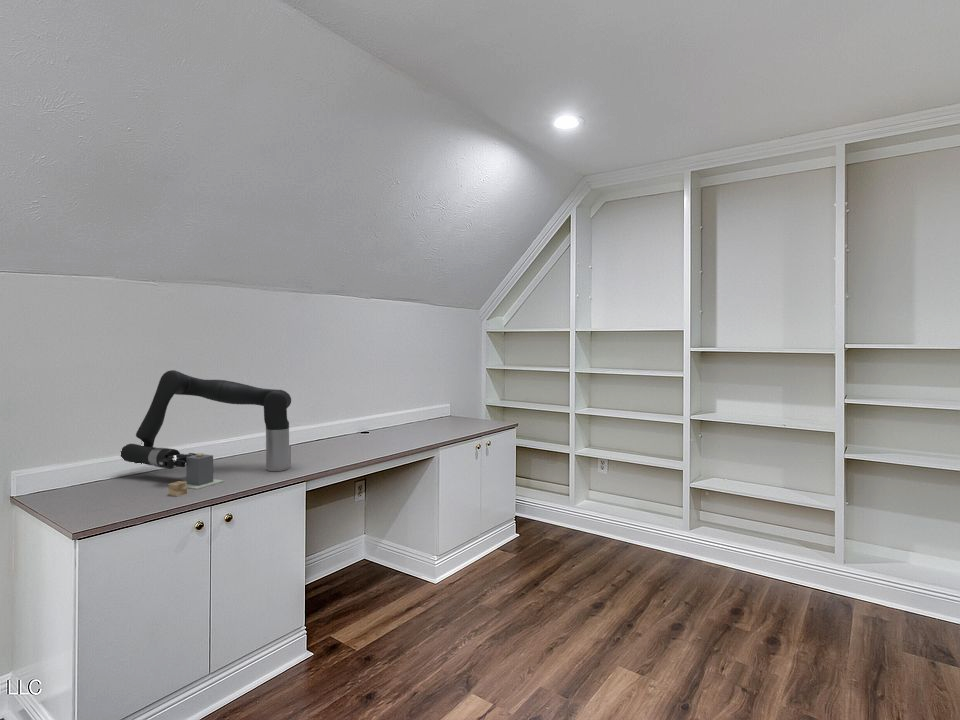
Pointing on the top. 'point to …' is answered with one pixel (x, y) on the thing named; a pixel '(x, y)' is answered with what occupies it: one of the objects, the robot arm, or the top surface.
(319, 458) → the top surface
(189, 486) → the mat
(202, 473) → the cover
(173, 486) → the block
